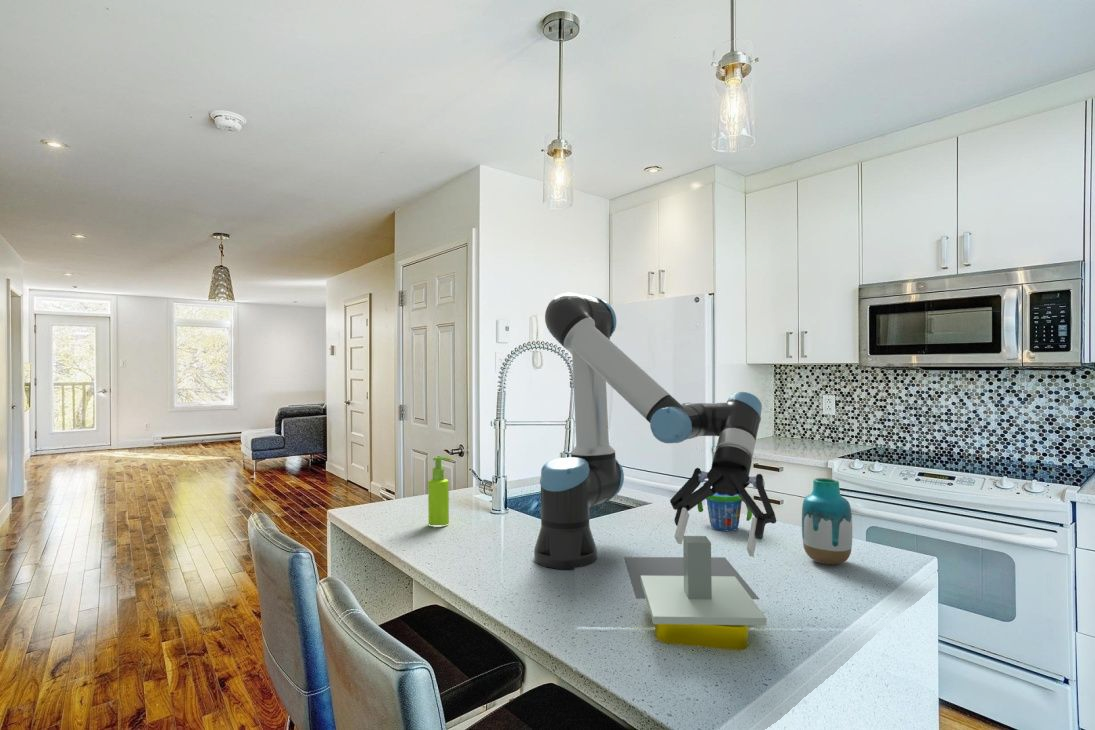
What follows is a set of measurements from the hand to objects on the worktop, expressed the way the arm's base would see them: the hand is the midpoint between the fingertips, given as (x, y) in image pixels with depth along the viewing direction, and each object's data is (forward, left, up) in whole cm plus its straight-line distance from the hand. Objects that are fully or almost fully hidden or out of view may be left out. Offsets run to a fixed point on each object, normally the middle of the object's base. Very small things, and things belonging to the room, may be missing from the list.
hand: (712, 546), depth 105 cm
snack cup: (+17, +54, -12) cm, 58 cm away
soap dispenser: (-65, +57, -12) cm, 88 cm away
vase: (+33, +26, -12) cm, 44 cm away
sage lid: (-4, -6, -8) cm, 11 cm away
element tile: (-4, -6, -13) cm, 15 cm away
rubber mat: (-2, +16, -12) cm, 20 cm away
